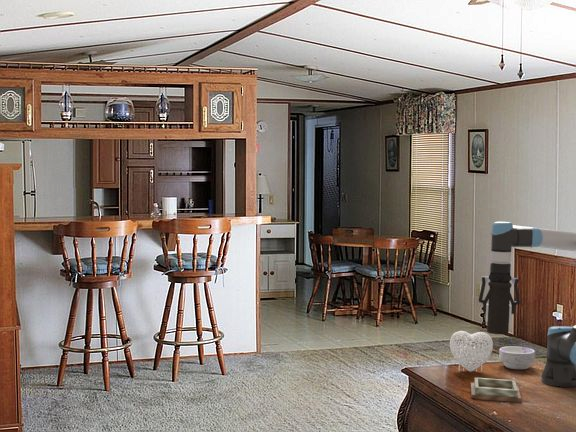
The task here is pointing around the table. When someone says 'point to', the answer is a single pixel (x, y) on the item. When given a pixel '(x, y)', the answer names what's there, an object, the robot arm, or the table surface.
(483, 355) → the decorative heart
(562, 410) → the table surface
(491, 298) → the container
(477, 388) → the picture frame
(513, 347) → the paper bowls
